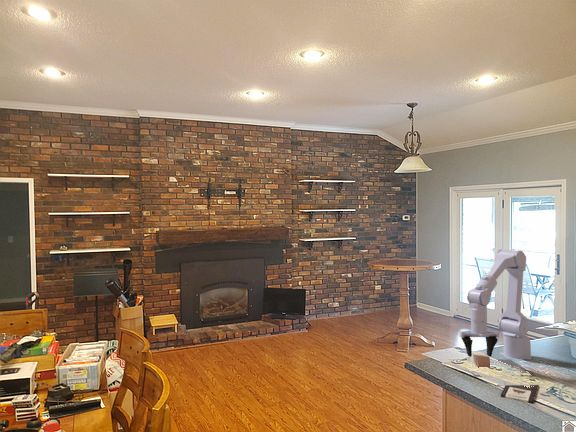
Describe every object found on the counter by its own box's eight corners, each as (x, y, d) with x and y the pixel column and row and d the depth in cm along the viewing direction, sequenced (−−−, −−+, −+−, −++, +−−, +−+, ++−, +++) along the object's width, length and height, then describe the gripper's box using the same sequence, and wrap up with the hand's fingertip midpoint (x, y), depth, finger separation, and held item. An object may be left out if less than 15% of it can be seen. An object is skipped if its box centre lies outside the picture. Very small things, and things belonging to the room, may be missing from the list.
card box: (481, 361, 165) (481, 351, 165) (489, 368, 158) (489, 357, 158) (469, 361, 165) (469, 351, 165) (477, 368, 158) (477, 357, 158)
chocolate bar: (538, 383, 143) (533, 401, 129) (538, 385, 143) (533, 404, 129) (509, 377, 149) (500, 395, 134) (509, 380, 149) (500, 398, 134)
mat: (510, 360, 168) (510, 359, 168) (536, 377, 150) (536, 375, 150) (455, 361, 168) (455, 359, 168) (475, 378, 150) (475, 376, 150)
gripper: (464, 323, 158) (464, 359, 158) (502, 322, 158) (503, 359, 158) (457, 318, 165) (457, 353, 165) (493, 318, 165) (494, 353, 165)
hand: (479, 355), depth 162 cm, fingers open, 7 cm apart
